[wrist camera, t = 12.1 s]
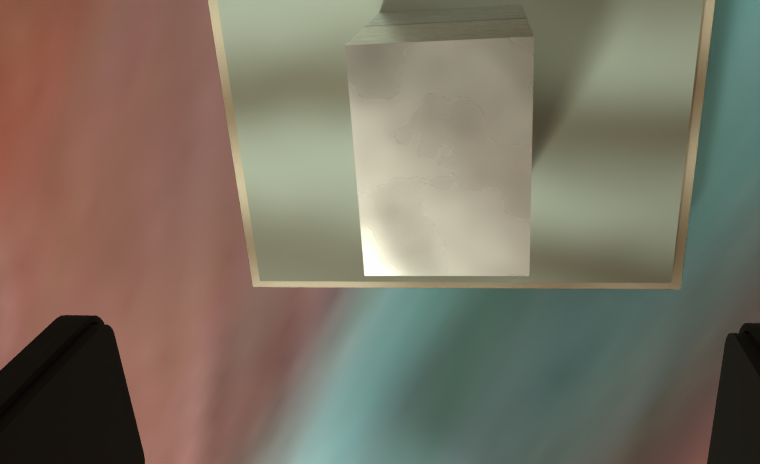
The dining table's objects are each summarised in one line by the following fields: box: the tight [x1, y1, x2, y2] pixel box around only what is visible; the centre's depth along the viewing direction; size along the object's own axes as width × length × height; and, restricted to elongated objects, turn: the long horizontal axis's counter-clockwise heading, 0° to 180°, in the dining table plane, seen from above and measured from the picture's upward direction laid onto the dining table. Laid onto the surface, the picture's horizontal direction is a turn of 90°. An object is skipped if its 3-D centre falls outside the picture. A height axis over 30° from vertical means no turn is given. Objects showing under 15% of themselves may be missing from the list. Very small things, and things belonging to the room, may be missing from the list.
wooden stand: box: [208, 0, 715, 289], centre depth 28 cm, size 16×18×4 cm
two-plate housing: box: [345, 4, 534, 276], centre depth 23 cm, size 5×7×7 cm
